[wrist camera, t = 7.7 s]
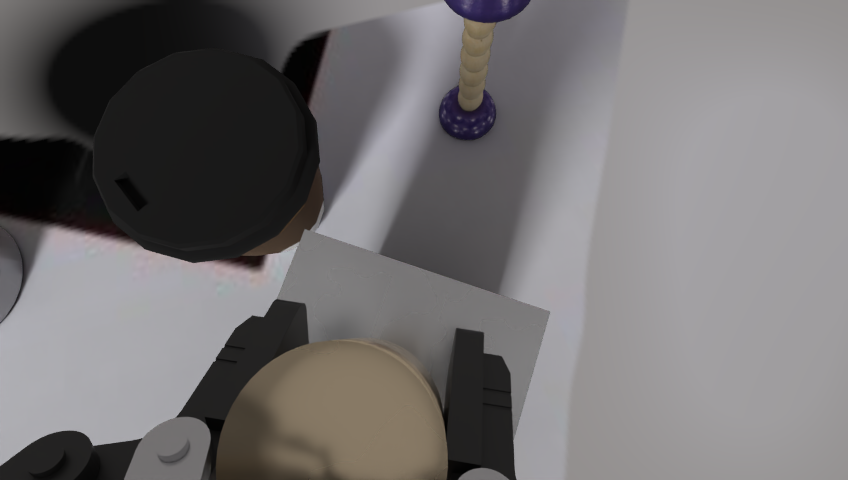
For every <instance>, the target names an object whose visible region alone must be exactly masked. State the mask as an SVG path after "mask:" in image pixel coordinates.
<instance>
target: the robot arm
mask: <svg viewBox="0 0 848 480" xmlns="http://www.w3.org/2000/svg"><path fill="white" fill-rule="evenodd" d="M22 276H23V269H22V259H21V255H20V251H19V248H18V246H17V245H16V243H15V241H14V239H13V238H12V237H11V236H10V235H9V234H8V232H7V231H6V230H4V229H3V228H1V227H0V322H1V321H2V320H3V319H4V318H5V317H6V315H7V314H8V312H9V311H10V309H11V308H12V306H13V304H14V303H15V301H16V298H17V295H18V293H19V290H20V287H21V281H22ZM307 344H309V336H308V322H307V308H306V305H305V303H299V302H292V301H286V300H280V299H276V300H275V301H274V302H273V303H272V305H271V307H270V308H269V310H268V312H267V313H266V315H265V317H258V316H251V317H250V318H249V319H247V320H246V321H245V322H243V323H242V324H241V325H239V326H238V327H237V328H235V330H234V332H233V333H232V335H231V336H230V338H229V339H228V341H227V342H226V344H225V347H224V348H222V350H221V351H220V353H219V354H218V356H217V357H216V361H215V362H213V363H212V365H211V367H210V368H209V370H208V371H207V373H206V374H205V376H204V377H203V379H202V380H201V382H200V383H199V385H198V386H197V388H196V389H195V391H194V392H193V394H192V395H191V397H190V398H189V400H188V402H187V403H186V405H185V406H184V408H183V409H182V411H181V412H180V413H179V415H178V416H177V417H176V418H174V419H170V420H168V421H165V422H163V423H161V424H159V425H158V426H156V427H155V428H153V429H152V430H151V431H150V432H148V433H147V434H146V435H145V436H144V438H141V439H138V440H133V441H126V442H119V443H111V444H104V445H97V446H93V445H92V443H91V441H90V439H89V438H88V437H87V436H86V435H85V434H83V433H81V432H77V431H61V432H56V433H53V434H49V435H47V436H44V437H42V438H40V439H38V440H36V441H35V442H33V443H31V444H30V445H28V446H27V447H25V448H24V449H23V450H21V451H20V452H19V453H17V454H16V455H15V456H13V457H12V458H11V459H9V460H8V461H7V462H5V463H4V464H3V465H1V466H0V480H216V459H217V449H218V444H219V439H220V434H221V431H222V428H223V425H224V422H225V419H226V417H227V415H228V413H229V411H230V409H231V407H232V405H233V403H234V401H235V400H236V398H237V397H238V395H239V393H240V392H241V390H242V389H243V388H244V387H245V385H246V384H247V383H248V382H249V381H250V379H251V378H252V377H253V376H254V375H255V374H256V373H257V372H258V371H260V370H261V369H262V368H263V367H264V366H266V365H267V364H268V363H270V362H271V361H272V360H273V359H275V358H277V357H279V356H280V355H282V354H284V353H286V352H288V351H290V350H292V349H295V348H297V347H300V346H303V345H307ZM443 415H444V424H445V433H446V442H447V451H448V471H447V480H516V476H515V469H514V444H513V420H512V396H511V373H510V371H509V369H508V367H507V365H506V363H505V361H504V359H503V357H502V356H499V355H493V354H487V353H484V332H480V331H474V330H467V329H461V328H456V330H455V335H454V340H453V346H452V351H451V357H450V362H449V368H448V374H447V381H446V389H445V399H444V408H443Z"/></svg>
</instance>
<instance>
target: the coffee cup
mask: <svg viewBox="0 0 848 480" xmlns="http://www.w3.org/2000/svg"><path fill="white" fill-rule="evenodd" d="M319 163H320V157H319V145H318V134H317V122H316V120H315V118H314V117H313V115H312V113H311V111H310V110H309V108H308V106H307V104H306V103H305V101H304V99H303V97H302V95H301V94H300V92H299V90H298V88H297V87H296V85H295V83H294V82H292V81H291V80H290V79H288V78H287V77H286V76H284V75H283V74H282V73H280V72H279V71H277V70H276V69H275V68H273V67H272V66H271V65H269V64H268V63H266V62H265V61H264V60H262V59H258V58H253V57H251V56H247V55H243V54H239V53H234V52H230V51H226V50H222V49H218V48H208V49H200V50H192V51H185V52H177V53H173V54H171V55H169V56H167V57H166V58H163V59H162V60H160V61H158V62H156V63H153V64H152V65H149V66H148V67H145V68H144V69H141V70H140V71H138V72H137V73H136V74H135V75H134V76H133V77H132V78H131V79H130V80H129V81H128V82H127V83H126V84H125V86H123V87H122V88H121V90H119V92H118V93H117V94H116V95H115V96H114V97H113V98H112V99H111V100H110V101H109V103H108V106H107V108H106V110H105V112H104V115H103V117H102V119H101V122H100V124H99V126H98V129H97V131H96V133H95V135H94V138H93V178H94V181H95V183H96V185H97V188H98V190H99V192H100V194H101V197H102V199H103V201H104V203H105V206H106V208H107V210H108V212H109V214H110V216H111V218H112V220H113V222H114V223H115V224H116V225H117V226H118V227H119V228H121V229H122V230H123V231H124V232H125V233H127V234H128V235H129V236H130V237H131V238H132V239H134V240H135V241H136V242H137V243H138V244H139V245H141V246H142V247H143V248H144V249H146V250H149V251H152V252H156V253H160V254H163V255H167V256H170V257H174V258H178V259H181V260H185V261H188V262H192V263H197V262H205V261H213V260H220V259H228V258H236V257H239V256H241V255H248V256H258V255H265V254H273V253H280V252H286V251H290V250H292V249H294V248H296V247H298V245H299V242H300V240H301V237H302V235H303V232H304V230H305V229H306V230H309V231H312V232H315V231H316V229H317V228H318V227H319V224H320V221H321V218H322V215H323V211H324V202H323V201H324V198H323V186H322V177H321V173H320V169H319Z"/></svg>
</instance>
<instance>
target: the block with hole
mask: <svg viewBox="0 0 848 480" xmlns="http://www.w3.org/2000/svg"><path fill="white" fill-rule="evenodd" d="M277 299H280V300H286V301H292V302H299V303H305V305H306V308H307V322H308V336H309V344H310V343H314V342H321V341H329V340H340V339H351V338H376V339H382V340H385V341H389V342H391V343H394V344H396V345H398V346H400V347H402V348H404V349H405V350H407V351H409V352H410V353H411V354H412V355H414V356H415V357H416V358H417V359H418V360H419V361H420V362H421V363H422V364H423V365H424V366H425V368H426V369H427V371H428V372H429V373H430V375H431V377H432V378H433V380H434V382H435V384H436V387H437V389H438V392H439V394H440V398H441V402H442V408H444V399H445V389H446V381H447V374H448V368H449V362H450V357H451V351H452V346H453V340H454V335H455V330H456V328H461V329H467V330H474V331H480V332H484V353H487V354H493V355H499V356H502V357H503V359H504V361H505V363H506V365H507V367H508V369H509V371H510V373H511V396H512V420H513V440H514V437H515V433H516V430H517V426H518V423H519V419H520V416H521V412H522V409H523V405H524V402H525V398H526V395H527V391H528V388H529V384H530V381H531V377H532V374H533V370H534V367H535V363H536V360H537V356H538V353H539V349H540V346H541V342H542V339H543V335H544V332H545V328H546V325H547V321H548V318H549V314H550V311H547V310H544V309H541V308H538V307H535V306H532V305H529V304H526V303H523V302H520V301H517V300H514V299H511V298H508V297H505V296H502V295H499V294H496V293H493V292H490V291H487V290H484V289H481V288H478V287H475V286H472V285H469V284H466V283H463V282H460V281H457V280H454V279H451V278H449V277H446V276H443V275H440V274H437V273H434V272H431V271H428V270H425V269H422V268H419V267H416V266H413V265H410V264H407V263H404V262H401V261H398V260H395V259H392V258H389V257H386V256H383V255H380V254H377V253H374V252H371V251H368V250H365V249H362V248H359V247H356V246H353V245H350V244H347V243H345V242H342V241H339V240H336V239H333V238H330V237H327V236H324V235H321V234H318V233H315V232H312V231H309V230H306V229H305V230H304V232H303V235H302V237H301V240H300V242H299V245H298V247H297V250H296V252H295V255H294V257H293V260H292V262H291V265H290V267H289V270H288V272H287V275H286V277H285V280H284V282H283V285H282V287H281V290H280V292H279V295H278V297H277Z"/></svg>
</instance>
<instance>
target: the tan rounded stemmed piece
mask: <svg viewBox="0 0 848 480" xmlns="http://www.w3.org/2000/svg"><path fill="white" fill-rule="evenodd" d="M447 471H448V451H447V442H446V433H445V424H444V415H443V408H442V402H441V398H440V394H439V392H438V389H437V387H436V384H435V382H434V380H433V378H432V377H431V375H430V373H429V372H428V371H427V369H426V368H425V366H424V365H423V364H422V363H421V362H420V361H419V360H418V359H417V358H416V357H415V356H414V355H412V354H411V353H410V352H409V351H407V350H405V349H404V348H402V347H400V346H398V345H396V344H394V343H391V342H389V341H385V340H382V339H376V338H351V339H340V340H329V341H321V342H314V343H310V344H307V345H303V346H300V347H297V348H295V349H292V350H290V351H288V352H286V353H284V354H282V355H280V356H279V357H277V358H275V359H273V360H272V361H271V362H270V363H268V364H267V365H266V366H264V367H263V368H262V369H261V370H260V371H258V372H257V373H256V374H255V375H254V376H253V377H252V378H251V379H250V381H249V382H248V383H247V384H246V385H245V387H244V388H243V389H242V390H241V392H240V393H239V395H238V397H237V398H236V400H235V401H234V403H233V405H232V407H231V409H230V411H229V413H228V415H227V417H226V419H225V422H224V425H223V428H222V431H221V434H220V439H219V444H218V449H217V459H216V480H447Z"/></svg>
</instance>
